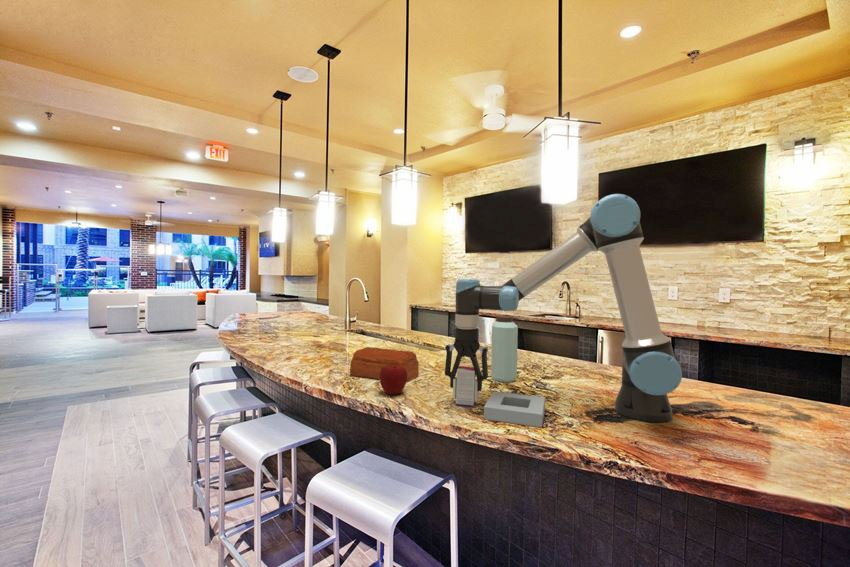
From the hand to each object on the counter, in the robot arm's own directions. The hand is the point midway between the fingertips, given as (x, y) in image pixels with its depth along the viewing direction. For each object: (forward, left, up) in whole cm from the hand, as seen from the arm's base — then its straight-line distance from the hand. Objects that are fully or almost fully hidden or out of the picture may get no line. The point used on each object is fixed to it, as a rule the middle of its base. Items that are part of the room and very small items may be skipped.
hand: (465, 399), depth 124 cm
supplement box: (0, 0, -2) cm, 2 cm away
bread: (+39, -22, -2) cm, 45 cm away
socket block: (-16, +3, -1) cm, 16 cm away
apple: (+26, -1, -2) cm, 26 cm away
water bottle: (-7, -34, -2) cm, 35 cm away
